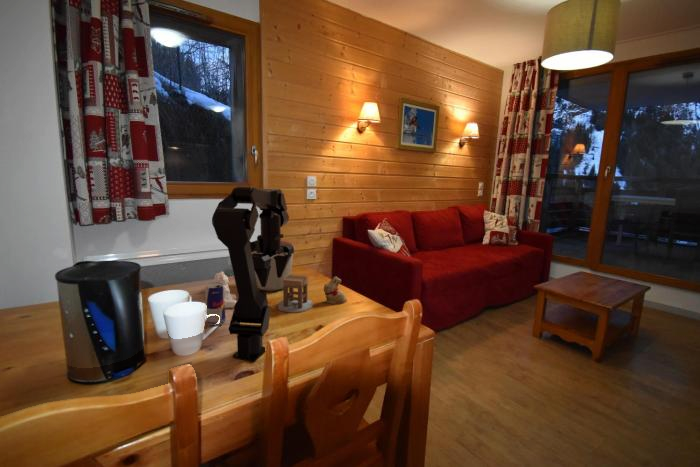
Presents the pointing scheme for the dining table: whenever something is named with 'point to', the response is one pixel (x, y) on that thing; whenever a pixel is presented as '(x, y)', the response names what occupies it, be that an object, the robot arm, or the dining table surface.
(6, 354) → the dining table surface
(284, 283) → the stool
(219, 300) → the energy drink
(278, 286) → the canister
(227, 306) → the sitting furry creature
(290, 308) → the mat
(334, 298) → the chocolate bunny
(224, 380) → the dining table surface
